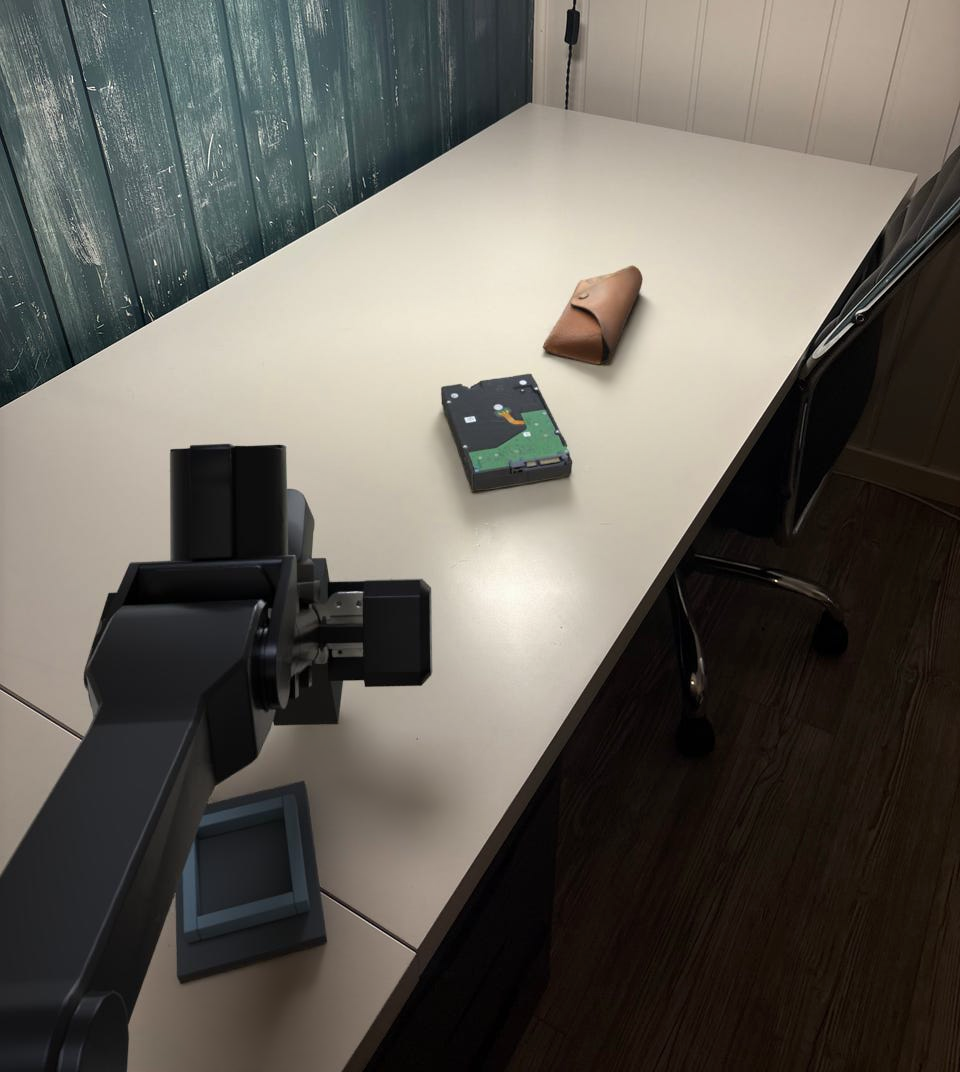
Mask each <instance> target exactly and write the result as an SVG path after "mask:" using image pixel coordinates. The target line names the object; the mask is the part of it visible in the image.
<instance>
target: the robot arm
mask: <svg viewBox="0 0 960 1072" xmlns="http://www.w3.org/2000/svg"><path fill="white" fill-rule="evenodd" d="M287 465H288V463H287V446H286V445H284V444H259V445H258V444H257V445H234V444H233V443H211V444H209V443H208V444H190V446H189V447H187V448H171V449H169V556H170V557H169V560H152V561H130V562H129V564H128V565H127V568H126V571H125V573H124V575H123V577H122V580H121V582H120V584H119V587H118V589H117V590H116V591H115V592H108V593H107V596H106V600H105V602H104V606H103V609H102V613H101V616H100V618H99V621H98V624H97V628H96V631H95V634H94V637H93V641H92V644H91V647H90V651H89V654H88V657H87V660H86V663H85V666H84V671H83V685H84V688H85V689H86V691H87V694H88V695H87V696H88V700H89V705H90V708H91V712H92V719H91V722H90V724H89V727H88V729H87V731H86V733H85V734H84V736H83V737H82V739H81V741H80V742H79V744H78V746H76V747H77V748H76V749H75V750H74V752H73V754H72V755H71V757H70V759H69V760H68V762H67V764H66V765H65V767H64V769H63V770H62V772H61V774H60V775H59V776H58V779H57V780H56V782H55V783H54V785H53V787H52V789H51V790H50V791H49V793H48V795H47V797H46V798H45V800H44V802H43V803H42V805H41V806H40V808H39V809H38V811H37V813H36V815H35V816H34V818H33V819H32V821H31V823H30V825H28V828H27V829H26V831H25V833H24V835H23V836H22V837H21V839H20V841H19V842H18V844H17V846H16V848H15V849H14V850H13V852H12V854H11V855H10V858H9V859H8V860H7V862H6V864H5V866H4V867H3V869H2V870H1V872H0V1072H128V1064H129V1063H128V1062H129V1044H130V1043H129V1042H130V1032H129V1031H130V1030H129V1024H130V1021H131V1018H132V1015H133V1013H134V1010H135V1007H136V1005H137V1002H138V998H139V995H140V994H141V990H142V987H143V985H144V982H145V979H146V977H147V974H148V971H149V969H150V965H151V963H152V960H153V957H154V954H155V952H156V948H157V945H158V944H159V940H160V937H161V934H162V931H163V929H164V926H165V923H166V921H167V917H168V916H169V915H168V914H169V912H170V910H171V906H172V904H173V900H174V898H175V896H176V895H175V892H176V890H177V887H178V884H179V881H180V878H181V876H182V873H183V870H184V867H185V864H186V861H187V859H188V856H189V853H190V850H191V847H192V845H193V842H194V839H195V836H196V833H197V831H198V828H199V825H200V822H201V819H202V817H203V814H204V811H205V808H206V805H207V804H209V800H210V797H211V796H212V793H213V792H214V790H215V788H216V786H218V785H219V784H221V783H223V782H224V781H226V780H228V779H230V778H231V777H232V776H234V775H235V774H237V773H239V772H240V771H242V770H244V769H245V768H246V767H249V766H250V765H251V764H252V763H254V762H255V761H256V760H257V759H258V757H259V756H260V754H261V752H262V749H263V747H264V744H265V742H266V740H267V738H268V735H269V733H270V731H271V729H272V725H273V724H274V723H273V720H274V715H275V710H276V709H285V707H286V705H287V702H288V699H296V698H297V697H298V696H299V688H303V687H310V686H311V685H312V664H324V663H326V662H327V661H328V681H343V682H351V681H354V682H356V681H363V684H364V687H365V688H379V687H380V688H381V687H382V688H383V687H387V688H388V687H389V688H390V687H422V686H423V685H424V684H425V683H426V682H427V681H428V679H429V678H430V677H431V676H432V674H433V616H432V615H433V614H432V613H433V612H432V609H433V607H432V587H431V586H430V584H428V583H427V582H426V581H425V580H424V579H423V578H390V579H389V578H388V579H387V578H385V579H384V578H383V579H382V578H381V579H365V580H349V581H347V580H346V581H341V580H340V581H330V582H328V601H327V602H326V603H325V604H318V603H320V581H315V565H314V563H313V562H312V558H313V547H314V546H313V545H314V532H315V518H314V515H313V513H312V510H311V508H310V505H309V504H308V502H307V499H306V496H305V495H304V493H302V492H301V491H300V490H297V489H296V488H288V475H287V474H288V470H287ZM317 616H318V617H319V620H320V621H322V620H323V618H324V616H325V618H326V625H319V621H318V617H317ZM319 644H326V646H324V648H323V651H322V650H321V648H320V646H319Z"/></svg>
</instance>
